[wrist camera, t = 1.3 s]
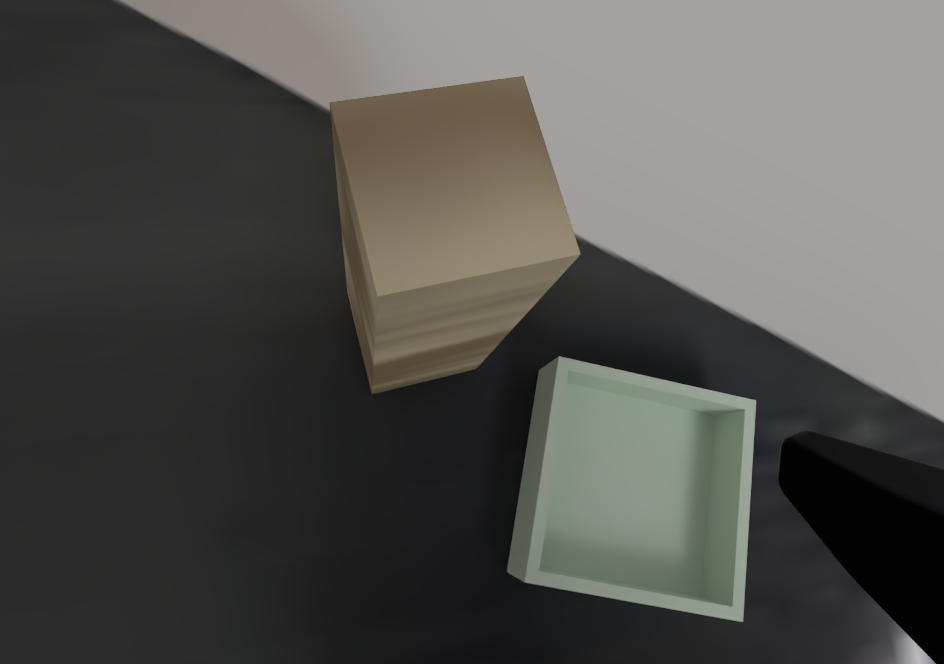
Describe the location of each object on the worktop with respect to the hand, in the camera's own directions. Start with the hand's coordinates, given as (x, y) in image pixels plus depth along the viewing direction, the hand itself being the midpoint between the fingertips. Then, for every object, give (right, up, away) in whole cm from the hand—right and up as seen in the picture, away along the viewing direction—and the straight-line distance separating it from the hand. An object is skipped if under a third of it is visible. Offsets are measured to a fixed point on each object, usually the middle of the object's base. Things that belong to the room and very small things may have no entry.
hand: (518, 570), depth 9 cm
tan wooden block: (-3, +3, +15) cm, 15 cm away
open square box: (+5, -2, +15) cm, 16 cm away
